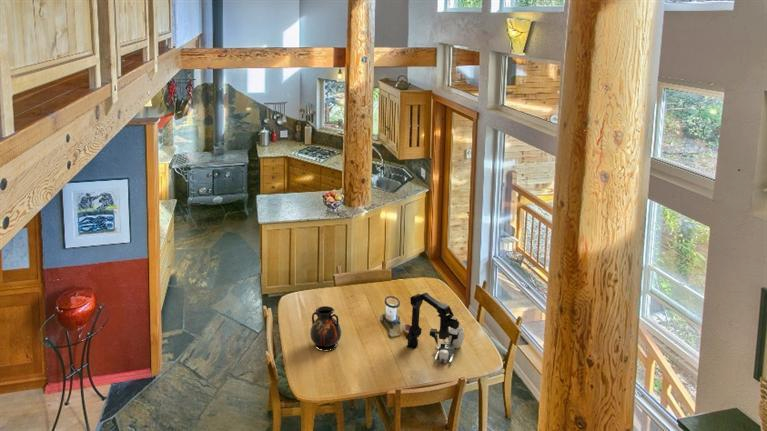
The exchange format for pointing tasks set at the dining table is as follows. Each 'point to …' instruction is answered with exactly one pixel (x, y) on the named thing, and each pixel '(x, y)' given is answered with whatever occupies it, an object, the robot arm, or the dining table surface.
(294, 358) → the dining table surface
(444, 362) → the light bulb
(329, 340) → the amphora vase
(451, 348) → the u-shaped channel
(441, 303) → the robot arm
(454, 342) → the mug
